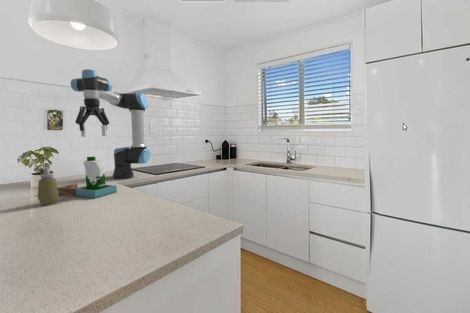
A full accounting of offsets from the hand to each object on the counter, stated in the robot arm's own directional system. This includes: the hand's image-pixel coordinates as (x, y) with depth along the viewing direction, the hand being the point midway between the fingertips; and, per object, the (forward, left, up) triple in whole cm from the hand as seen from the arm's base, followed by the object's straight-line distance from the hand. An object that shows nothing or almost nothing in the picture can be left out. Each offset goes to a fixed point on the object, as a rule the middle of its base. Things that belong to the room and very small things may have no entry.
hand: (94, 136), depth 136 cm
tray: (+5, +5, -32) cm, 33 cm away
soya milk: (+5, +5, -32) cm, 32 cm away
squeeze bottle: (+26, -1, -33) cm, 42 cm away
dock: (+6, -9, -32) cm, 34 cm away
